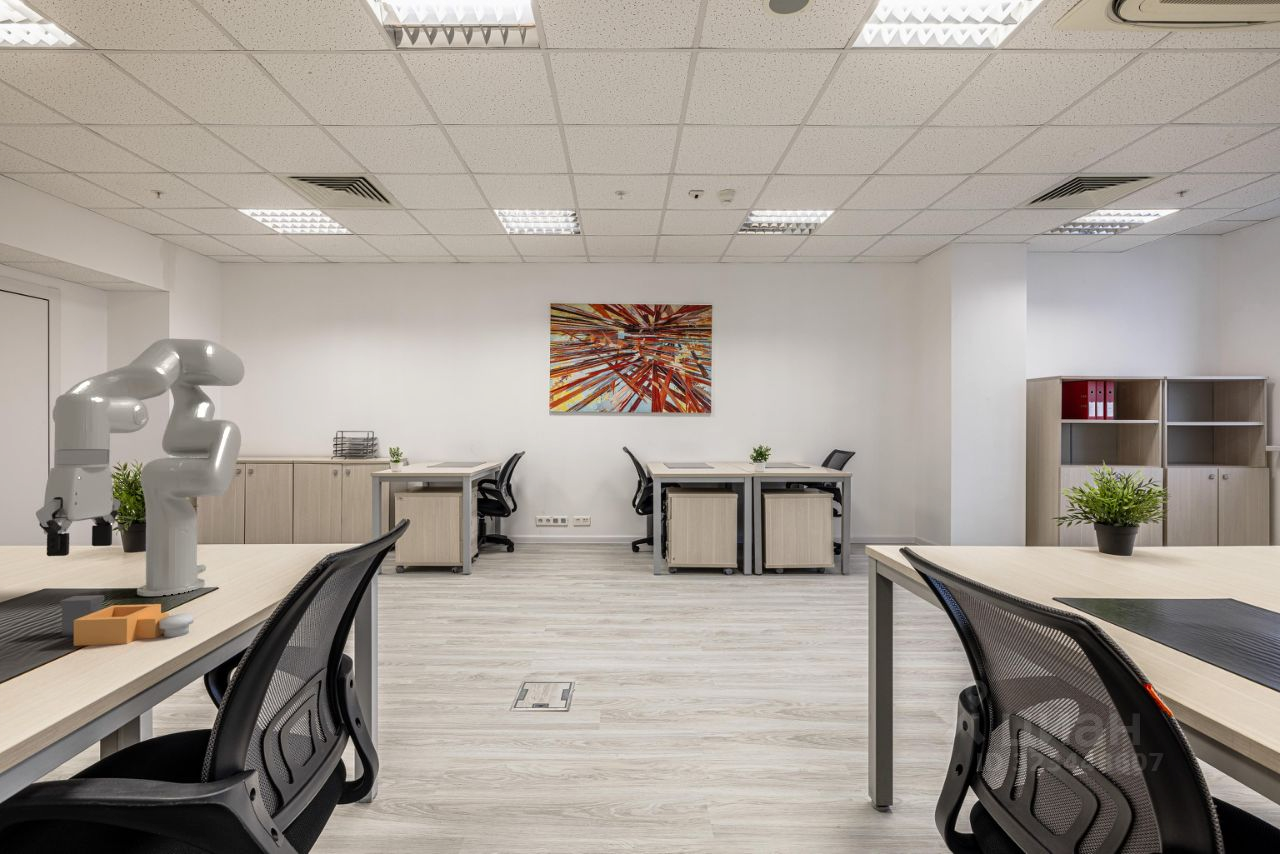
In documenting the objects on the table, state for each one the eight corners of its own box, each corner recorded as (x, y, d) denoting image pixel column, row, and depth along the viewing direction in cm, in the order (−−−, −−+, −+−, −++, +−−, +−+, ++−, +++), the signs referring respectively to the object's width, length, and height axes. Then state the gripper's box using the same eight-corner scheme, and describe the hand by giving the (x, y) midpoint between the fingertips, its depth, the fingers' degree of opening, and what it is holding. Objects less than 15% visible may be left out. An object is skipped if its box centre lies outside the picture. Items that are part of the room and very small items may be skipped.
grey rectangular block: (74, 630, 110) (74, 596, 110) (104, 629, 111) (104, 595, 111) (59, 636, 107) (59, 601, 107) (90, 634, 108) (90, 600, 108)
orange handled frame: (73, 645, 102) (73, 620, 102) (112, 628, 111) (112, 605, 111) (175, 641, 104) (175, 616, 104) (205, 625, 113) (205, 602, 113)
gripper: (98, 458, 117) (96, 542, 117) (16, 461, 100) (14, 560, 100) (138, 458, 118) (137, 542, 118) (64, 461, 101) (62, 559, 101)
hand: (80, 550), depth 109 cm, fingers open, 9 cm apart
